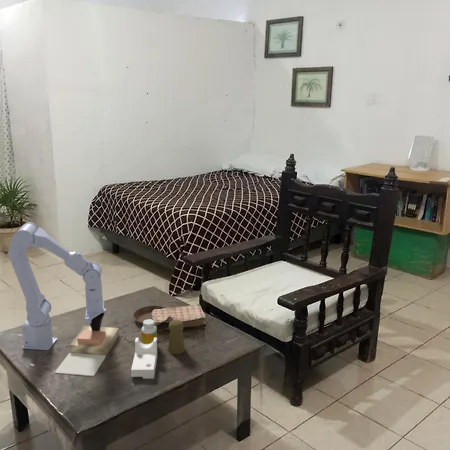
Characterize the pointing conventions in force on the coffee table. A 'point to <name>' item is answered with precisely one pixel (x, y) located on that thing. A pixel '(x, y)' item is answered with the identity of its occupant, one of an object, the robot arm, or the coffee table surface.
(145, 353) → the bracket
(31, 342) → the robot arm
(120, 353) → the coffee table surface
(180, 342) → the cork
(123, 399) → the coffee table surface
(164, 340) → the coffee table surface
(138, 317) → the saucer
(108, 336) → the beige flat block
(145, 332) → the supplement bottle
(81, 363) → the mat
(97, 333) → the tile
